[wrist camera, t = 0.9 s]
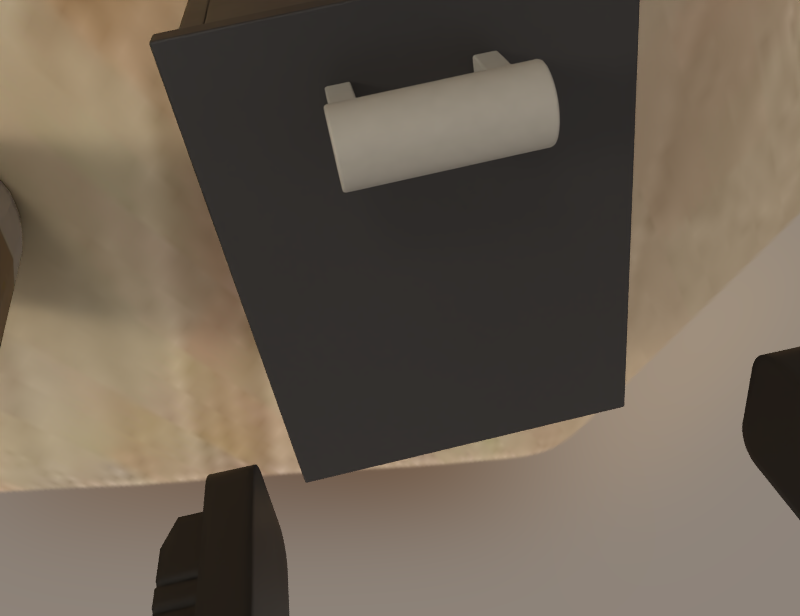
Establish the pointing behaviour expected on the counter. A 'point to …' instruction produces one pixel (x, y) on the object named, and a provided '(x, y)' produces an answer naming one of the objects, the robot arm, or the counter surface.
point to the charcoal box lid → (419, 211)
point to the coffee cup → (8, 251)
